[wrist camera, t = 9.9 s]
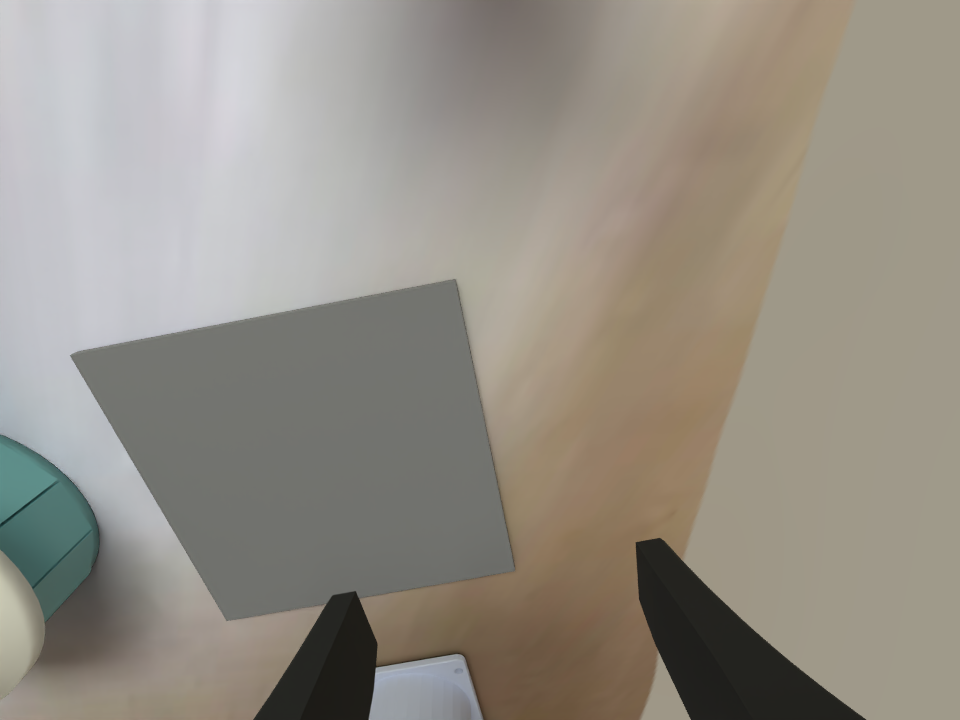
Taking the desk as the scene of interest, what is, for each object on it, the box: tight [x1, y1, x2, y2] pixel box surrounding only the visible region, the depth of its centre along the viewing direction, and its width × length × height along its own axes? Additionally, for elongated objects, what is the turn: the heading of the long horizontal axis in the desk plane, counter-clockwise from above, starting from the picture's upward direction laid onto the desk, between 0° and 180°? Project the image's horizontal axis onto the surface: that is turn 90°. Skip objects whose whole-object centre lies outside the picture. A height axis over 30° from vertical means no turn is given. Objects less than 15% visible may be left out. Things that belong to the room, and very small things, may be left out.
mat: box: [70, 279, 515, 621], centre depth 21 cm, size 16×16×1 cm
